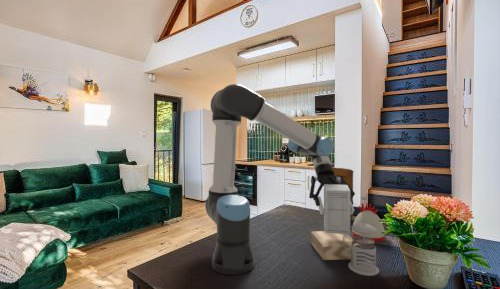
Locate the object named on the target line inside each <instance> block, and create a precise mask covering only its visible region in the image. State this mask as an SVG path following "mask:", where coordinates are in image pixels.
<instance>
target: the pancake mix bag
mask: <svg viewBox="0 0 500 289" xmlns="http://www.w3.org/2000/svg"><path fill="white" fill-rule="evenodd" d="M332 168H333V171H334V174H335V176H336V177H340V176H343V178H344V180H345V182H346V183H347V184H348V185H349V186H350V188H351V189H352V190H353V191H354V170H353V169H351V168H343V167H333V166H332ZM336 181H337V182H338V180H336ZM338 183H339V182H338ZM339 184H340V183H339ZM334 185H335V183H334ZM340 185H341V184H340ZM352 200H353V201H354V197H353V198H352ZM353 214H354V213H353ZM353 214H350V221H354V218H353V217H354V216H353Z"/></svg>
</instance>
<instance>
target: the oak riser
mask: <svg viewBox="0 0 500 289" xmlns="http://www.w3.org/2000/svg"><path fill="white" fill-rule="evenodd" d="M344 235H345V234H336V233H325V230H321V231H319V230H318V231H317V230H316V231H315V230H313V231H310V244H311V245H312V246H313V248H314V249H315V251H316V253H317V254H318V255H319V256H320V257H321V259H322V260H323V261H336V260H351V254H350V253H351V252H350V251H352V241H353V239H352V238H353V237H352V236H351V235H349V234H348V235H347V234H346V235H347V236H346V235H345V236H346V238H345V236H344ZM343 236H344V239H345V242H344V245H345V247H344V245H343ZM355 245H360V244H357V243H356V244H354V245H353V246H355ZM357 247H358V246H357ZM345 248H346V249H348V250H349V251H348V250H347V251H348V252H347V251H346V250H345ZM358 248H361V247H358ZM349 252H350V253H349ZM357 254H358V253H357Z"/></svg>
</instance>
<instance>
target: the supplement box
mask: <svg viewBox="0 0 500 289" xmlns="http://www.w3.org/2000/svg"><path fill="white" fill-rule="evenodd" d="M323 208H324V213H323V229H324V230H323V231H325V233H336V234H345V233H346V232H348V231H351V220H350V189H349V187H348V185H334V184H324V186H323ZM349 233H351V232H348V233H347V234H348V236H351V234H349Z"/></svg>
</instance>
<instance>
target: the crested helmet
mask: <svg viewBox="0 0 500 289" xmlns="http://www.w3.org/2000/svg"><path fill="white" fill-rule="evenodd" d="M358 208H359V211H360V212H359V213H358V214H357V216H355V217H354V218H353V224H352V226H353V225H354V224H358V223H363V216H364V223H365V224H368V225H371V226H373V227H374V228H375V229H376V230H377V232H376V233H374V234H364V237H367V238H371V239H373V240H374V241H375V243H377V242H378V241H379V242H383V241H385V240H384V239H386V234H385V235H384V234H382V233H380V232H382V231H385V227H384V224H383V222H382V223H380V222H379V220H381V218H380V217H379V215H377V212H378V211H379V210H378V209H376V210H375V205H374V206H373V207H372V204H371V203H369V207H368V203H367V202H366V203H365V205H364V202H362V203H361V206H360V205H359V204H358ZM351 232H352V233H353V236H352V237H356V236H362V237H363V233H359V232H356V231H354V230H352V229H351ZM382 240H383V241H382Z"/></svg>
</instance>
